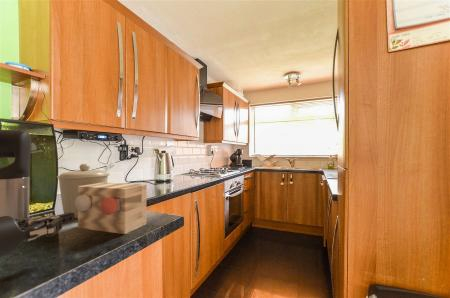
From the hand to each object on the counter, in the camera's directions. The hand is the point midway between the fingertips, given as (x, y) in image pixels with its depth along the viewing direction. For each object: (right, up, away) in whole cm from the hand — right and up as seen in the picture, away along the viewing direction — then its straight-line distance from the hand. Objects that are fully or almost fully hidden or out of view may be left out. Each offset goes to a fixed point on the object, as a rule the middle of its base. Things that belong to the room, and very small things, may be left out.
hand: (72, 216), depth 55 cm
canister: (-19, -10, +33) cm, 39 cm away
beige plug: (-7, -3, +19) cm, 21 cm away
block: (0, -9, +20) cm, 22 cm away
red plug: (+5, -3, +14) cm, 15 cm away
